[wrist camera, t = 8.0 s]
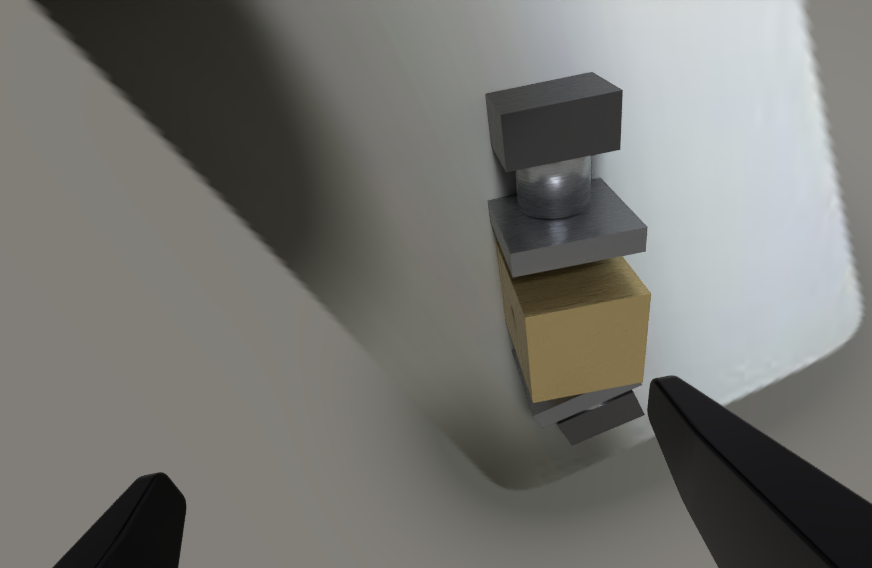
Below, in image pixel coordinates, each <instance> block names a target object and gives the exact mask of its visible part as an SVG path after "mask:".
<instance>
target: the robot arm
mask: <svg viewBox="0 0 872 568" xmlns="http://www.w3.org/2000/svg"><path fill="white" fill-rule="evenodd" d="M647 411H648V417H649V421H650V423H651V426H652V428H653V431H654V433H655V435H656V438H657V440H658V442H659V445H660V447H661V450H662V452H663V455H664V457H665V460H666V462H667V465H668V467H669V469H670V472H671V474H672V476H673V479H674V481H675V484H676V486H677V489H678V491H679V493H680V496H681V498H682V500H683V502H684V504H685V506H686V508H687V510H688V512H689V514H690V516H691V518H692V520H693V521H694V523H695V525H696V527H697V529H698V531H699V533H700V534H701V536H702V538H703V540H704V542H705V544H706V545H707V547H708V549H709V551H710V553H711V555H712V556H713V558H714V560H715V562H716V564H717V566H718V568H872V503H870V502H868V501H867V500H865V499H864V498H862V497H861V496H859V495H858V494H856V493H855V492H853V491H852V490H850V489H849V488H847V487H845V486H844V485H843V484H841V483H839V482H838V481H836V480H835V479H833V478H832V477H830V476H829V475H827V474H825V473H824V472H823V471H821V470H820V469H818V468H817V467H815V466H813V465H812V464H810V463H809V462H807V461H806V460H804V459H803V458H801V457H800V456H798V455H797V454H795V453H793V452H792V451H790V450H789V449H787V448H786V447H784V446H783V445H781V444H780V443H778V442H777V441H775V440H774V439H772V438H771V437H769V436H768V435H766V434H765V433H763V432H761V431H760V430H758V429H757V428H755V427H754V426H752V425H751V424H749V423H748V422H746V421H745V420H743V419H742V418H740V417H739V416H737V415H735V414H734V413H732V412H731V411H729V410H728V409H726V408H725V407H723V406H722V405H720V404H719V403H717V402H716V401H714V400H713V399H711V398H710V397H708V396H706V395H705V394H703V393H702V392H700V391H699V390H697V389H696V388H694V387H693V386H691V385H690V384H688V383H687V382H685V381H684V380H682V379H680V378H679V377H677V376H673V375H672V376H665V377H660V378H655V379H653V380H652V381H651V383H650V389H649V398H648V408H647ZM185 515H186V500H185V498H184V496H183V494H182V493H181V492H180V490H179V489H178V488H177V487H176V486H175V484H174V483H173V482H172V480H171V479H170V478H169V477H168V476H167V475H166V474H165V473H162V472H160V473H154V474H149V475H144V476H141V477H139V478H138V479H136V480H135V481H134V482H133V483H132V484H131V485H130V487H128V489H127V490H126V491H125V492H124V493H123V494H122V495H121V496H120V497H119V498H118V499H117V500H116V501H115V502H114V503H113V505H111V506H110V508H109V509H108V510H107V511H106V512H105V513H104V514H103V515H102V516H101V517H100V518H99V519H98V520H97V521H96V522H95V523H94V524H93V525H92V526H91V528H90V529H89V530H88V531H87V532H86V533H85V534H84V535H83V536H82V537H81V538H80V539H79V540H78V541H77V542H76V543H75V545H74V546H72V547H71V549H70V550H69V551H68V552H67V553H66V554H65V555H64V556H63V557H62V558H61V559H60V560H59V561H58V562H57V563H56V564H55V565H54V567H52V568H178V565H179V558H180V551H181V543H182V537H183V529H184V522H185Z"/></svg>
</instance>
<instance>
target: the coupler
mask: <svg viewBox="0 0 872 568" xmlns="http://www.w3.org/2000/svg"><path fill="white" fill-rule="evenodd" d="M496 248H497V256H498V264H499V273H500V281H501V289H502V298H503V306H504V314H505V321H506V324H507V327H508V330H509V333H510V336H511V339H512V342H513V345H514V348H515V351H516V354H517V357H518V360H519V363H520V366H521V369H522V372H523V375H524V378H525V381H526V384H527V387H528V390H529V393H530V396H531V399H532V402H533V403H536V402H541V401H546V400H551V399H557V398H562V397H567V396H572V395H578V394H583V393H588V392H594V391H599V390H604V389H609V388H615V387H620V386H625V385H630V384H636V383H641V382H643V375H644V364H645V354H646V343H647V332H648V321H649V310H650V300H651V293H650V291H649V290H648V289H647V287H646V286H645V285H644V284H643V282H642V281H641V280H640V278H639V277H638V276H637V275H636V273H635V272H634V271H633V269H632V268H631V267H630V266H629V264H628V263H627V262H626V260H625V259H624V258H623V257H622V256H620V257H615V258H610V259H605V260H599V261H594V262H589V263H584V264H579V265H574V266H569V267H564V268H559V269H554V270H548V271H543V272H538V273H533V274H528V275H523V276H518V277H512V274H511V272H510V269H509V267H508V264H507V262H506V259H505V257H504V254H503V252H502V249H501V247H500V244H499V242H496Z"/></svg>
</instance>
